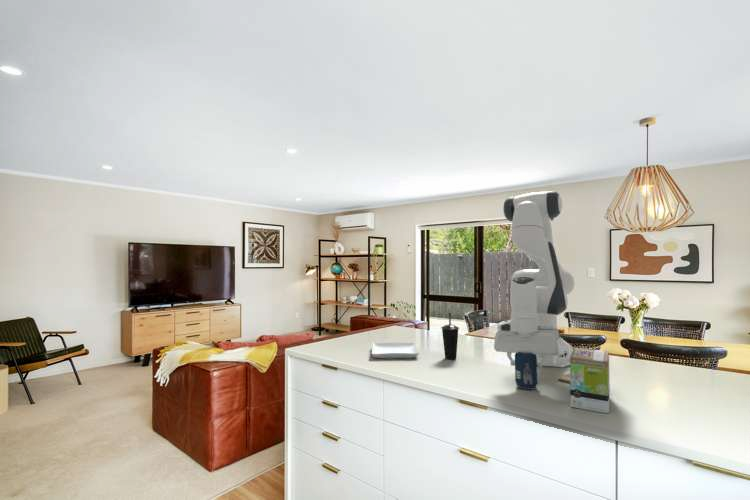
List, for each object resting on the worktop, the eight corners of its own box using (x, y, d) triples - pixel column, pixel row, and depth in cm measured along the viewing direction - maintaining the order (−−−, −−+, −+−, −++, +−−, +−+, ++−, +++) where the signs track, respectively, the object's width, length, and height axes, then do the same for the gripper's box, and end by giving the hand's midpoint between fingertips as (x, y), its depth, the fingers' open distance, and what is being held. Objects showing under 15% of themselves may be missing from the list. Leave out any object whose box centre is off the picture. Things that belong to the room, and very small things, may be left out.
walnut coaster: (569, 374, 141) (569, 372, 141) (599, 380, 133) (599, 378, 133) (558, 380, 134) (558, 378, 134) (588, 387, 127) (588, 385, 127)
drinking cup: (462, 357, 168) (461, 312, 169) (455, 361, 162) (454, 314, 162) (445, 355, 172) (444, 311, 173) (439, 359, 166) (438, 313, 166)
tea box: (610, 414, 105) (608, 360, 105) (569, 407, 110) (568, 356, 110) (610, 397, 117) (608, 349, 118) (574, 392, 123) (572, 346, 123)
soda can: (527, 382, 132) (526, 347, 133) (542, 388, 126) (541, 352, 126) (511, 384, 130) (510, 349, 130) (525, 391, 123) (524, 354, 124)
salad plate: (419, 360, 166) (419, 352, 166) (371, 360, 166) (371, 353, 166) (415, 349, 187) (415, 342, 187) (372, 349, 187) (372, 342, 188)
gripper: (558, 325, 127) (559, 366, 127) (494, 322, 135) (495, 361, 135) (559, 328, 121) (560, 372, 121) (492, 325, 129) (494, 366, 129)
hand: (526, 366), depth 128 cm, fingers closed on soda can, 7 cm apart
